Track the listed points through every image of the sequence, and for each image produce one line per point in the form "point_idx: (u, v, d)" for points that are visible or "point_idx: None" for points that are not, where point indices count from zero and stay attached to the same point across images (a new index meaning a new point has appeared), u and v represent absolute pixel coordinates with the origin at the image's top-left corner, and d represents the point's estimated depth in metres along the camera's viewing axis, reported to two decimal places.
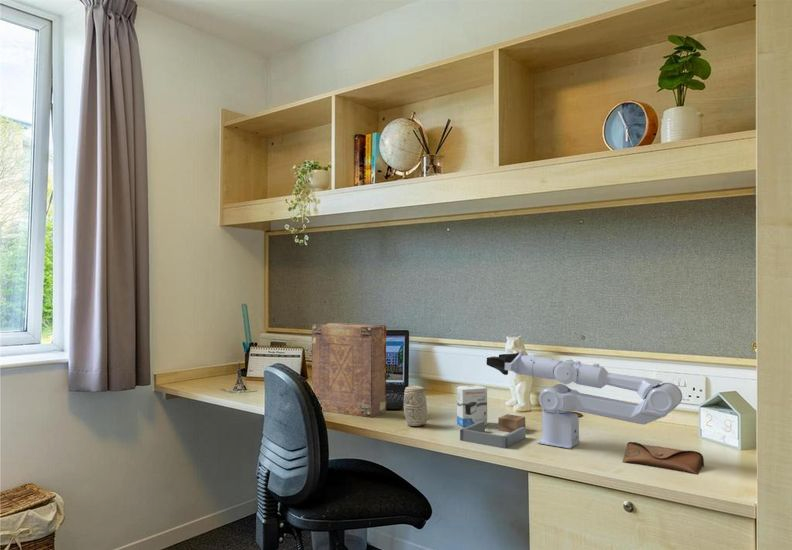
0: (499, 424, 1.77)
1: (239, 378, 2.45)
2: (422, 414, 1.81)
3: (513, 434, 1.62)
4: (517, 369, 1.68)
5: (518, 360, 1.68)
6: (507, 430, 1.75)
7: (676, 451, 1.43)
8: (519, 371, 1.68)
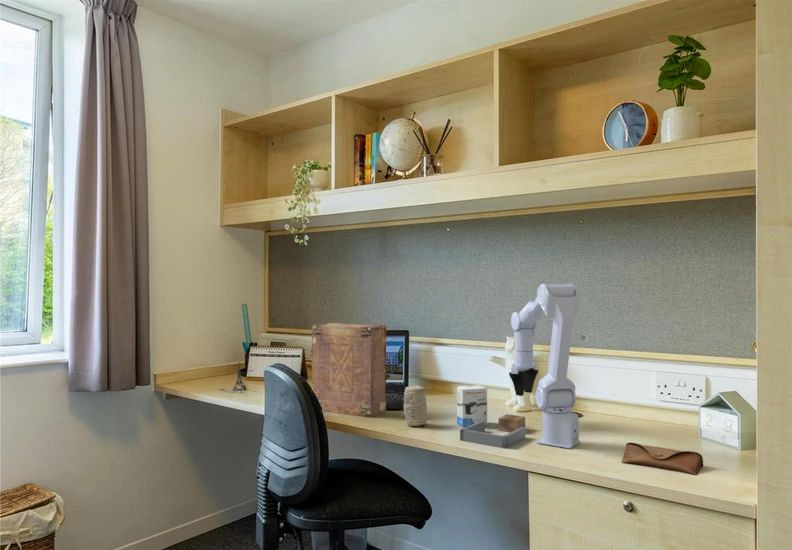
0: (499, 424, 1.77)
1: (239, 378, 2.45)
2: (422, 414, 1.81)
3: (513, 434, 1.62)
4: (523, 366, 1.82)
5: (516, 365, 1.84)
6: (507, 430, 1.75)
7: (675, 452, 1.42)
8: (526, 364, 1.82)
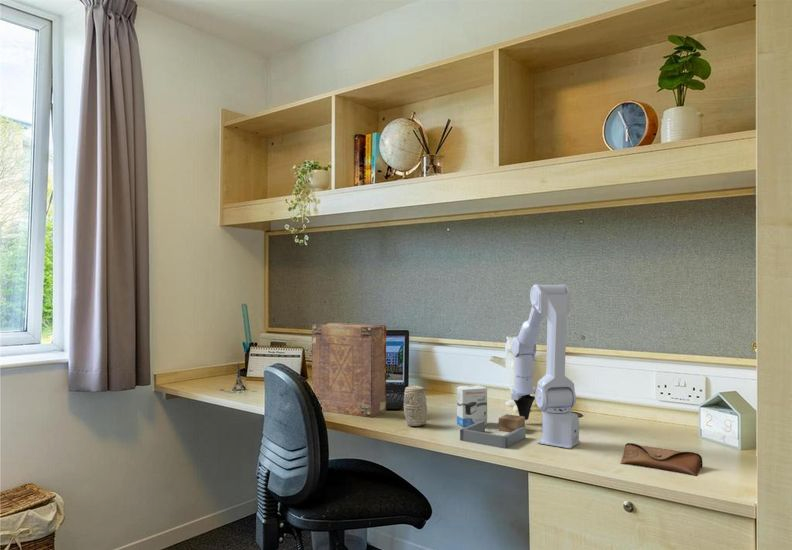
0: (499, 424, 1.77)
1: (238, 378, 2.44)
2: (422, 414, 1.81)
3: (513, 434, 1.62)
4: (523, 392, 1.82)
5: (516, 390, 1.84)
6: (508, 430, 1.75)
7: (674, 453, 1.42)
8: (526, 390, 1.82)
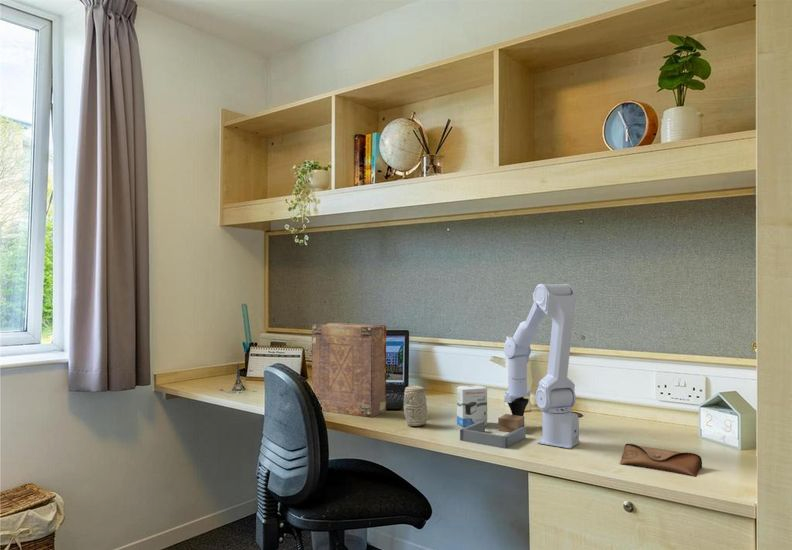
0: (499, 424, 1.76)
1: (238, 378, 2.44)
2: (422, 414, 1.81)
3: (513, 434, 1.62)
4: (517, 394, 1.78)
5: (509, 393, 1.80)
6: (507, 430, 1.75)
7: (674, 453, 1.41)
8: (519, 393, 1.79)
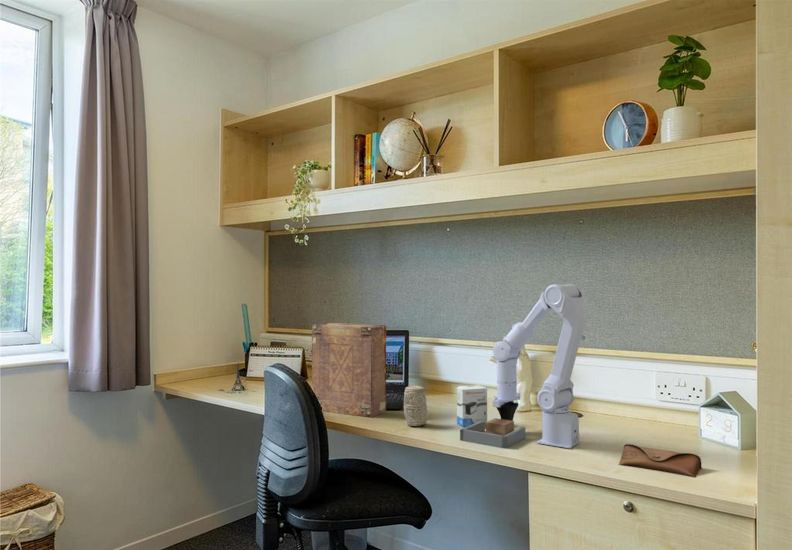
0: (487, 428, 1.71)
1: (238, 378, 2.44)
2: (422, 414, 1.81)
3: (513, 434, 1.62)
4: (506, 398, 1.72)
5: (498, 397, 1.74)
6: None
7: (673, 454, 1.41)
8: (509, 397, 1.72)
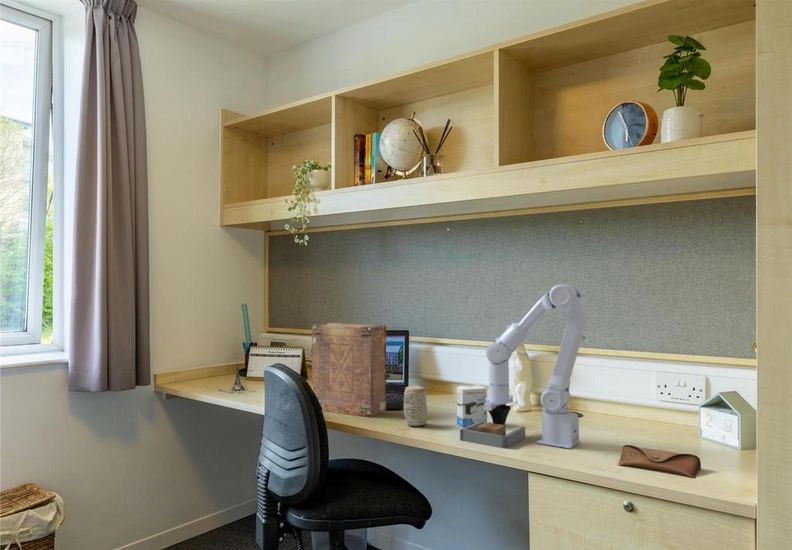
0: None
1: (237, 378, 2.44)
2: (422, 414, 1.81)
3: (513, 434, 1.62)
4: (498, 401, 1.68)
5: (490, 400, 1.70)
6: None
7: (672, 455, 1.40)
8: (501, 400, 1.68)
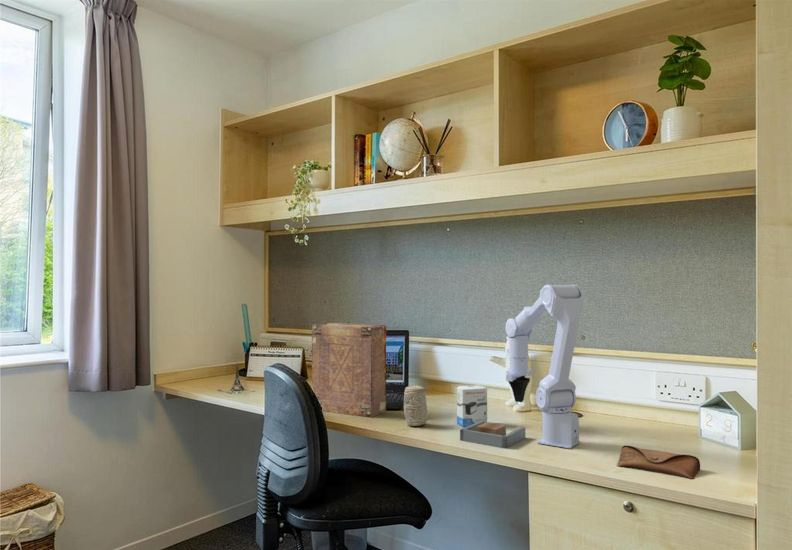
0: None
1: (237, 378, 2.44)
2: (422, 414, 1.81)
3: (513, 434, 1.62)
4: (518, 373, 1.79)
5: (511, 372, 1.81)
6: None
7: (671, 455, 1.39)
8: (521, 371, 1.79)
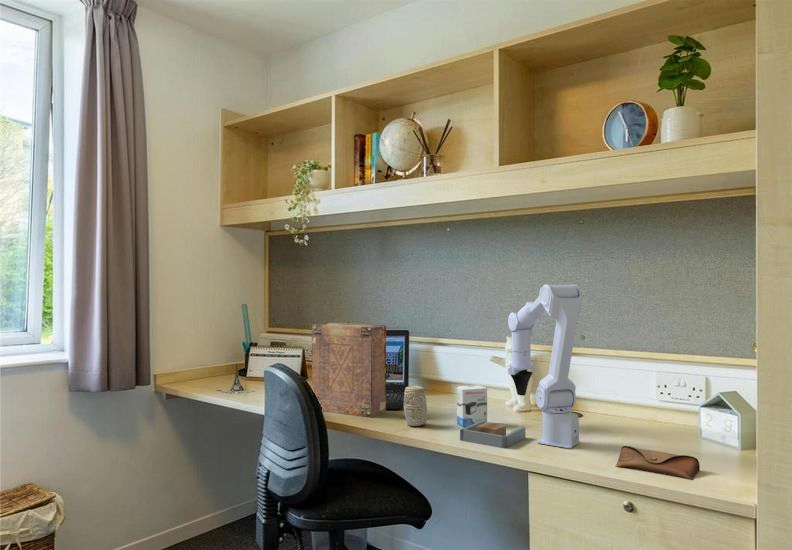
0: None
1: (236, 379, 2.44)
2: (422, 414, 1.81)
3: (513, 434, 1.62)
4: (521, 366, 1.81)
5: (513, 365, 1.82)
6: None
7: (671, 456, 1.39)
8: (523, 365, 1.81)
